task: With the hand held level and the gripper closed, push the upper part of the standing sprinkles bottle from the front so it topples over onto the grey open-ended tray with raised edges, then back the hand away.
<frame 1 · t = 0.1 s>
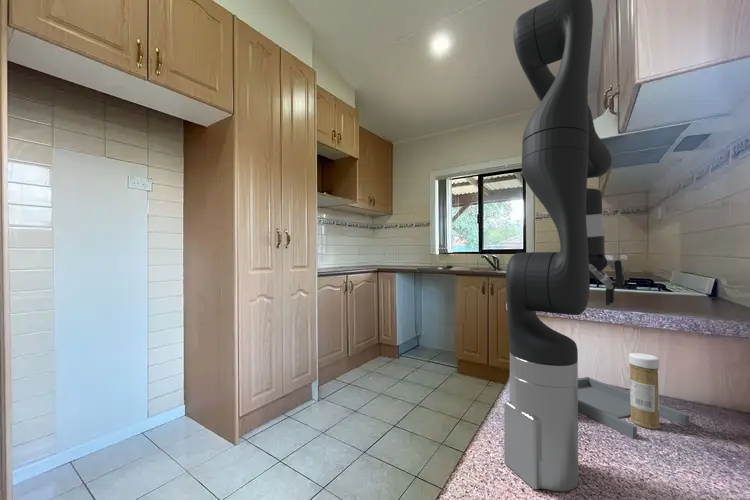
hand: (586, 302, 75), 22 cm above the countertop, tool pointing down, fingers open, 8 cm apart
grey open-ended tray: (606, 406, 69), on the countertop
sprinkles bottle: (644, 424, 62), on the countertop
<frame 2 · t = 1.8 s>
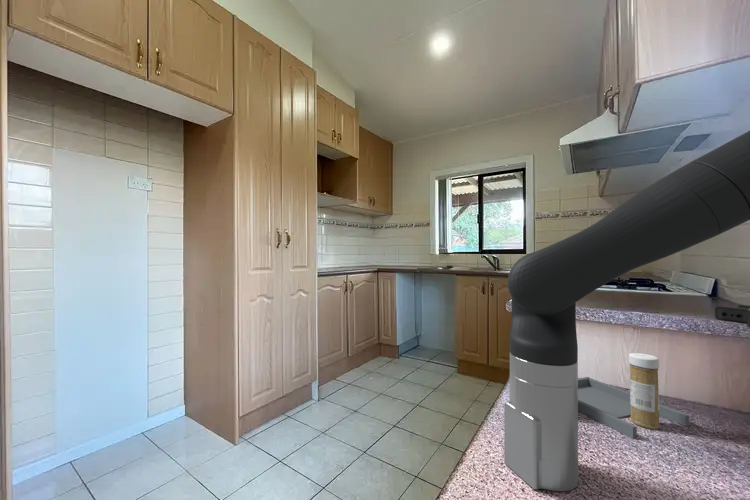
hand: (728, 312, 51), 24 cm above the countertop, tool horizontal, fingers open, 5 cm apart
nothing on the countertop moved.
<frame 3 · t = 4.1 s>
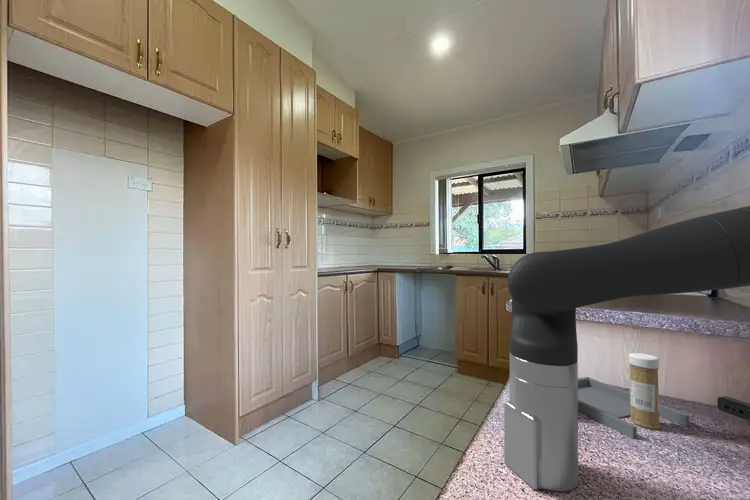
hand: (720, 402, 52), 9 cm above the countertop, tool horizontal, fingers closed
nothing on the countertop moved.
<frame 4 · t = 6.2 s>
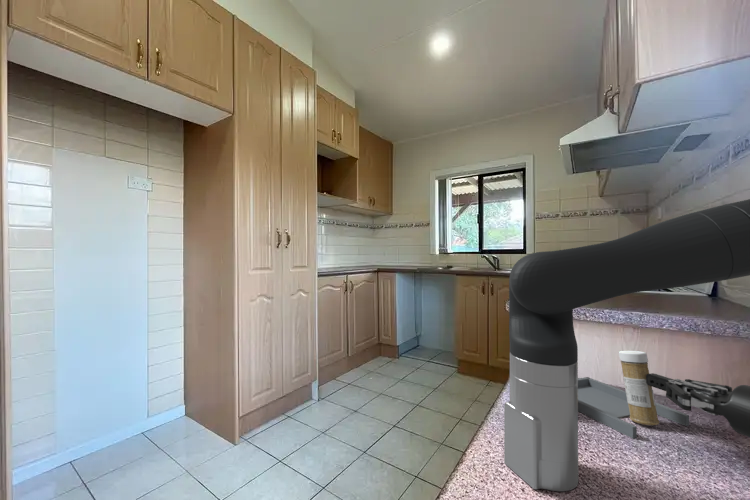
hand: (648, 378, 62), 9 cm above the countertop, tool horizontal, fingers closed
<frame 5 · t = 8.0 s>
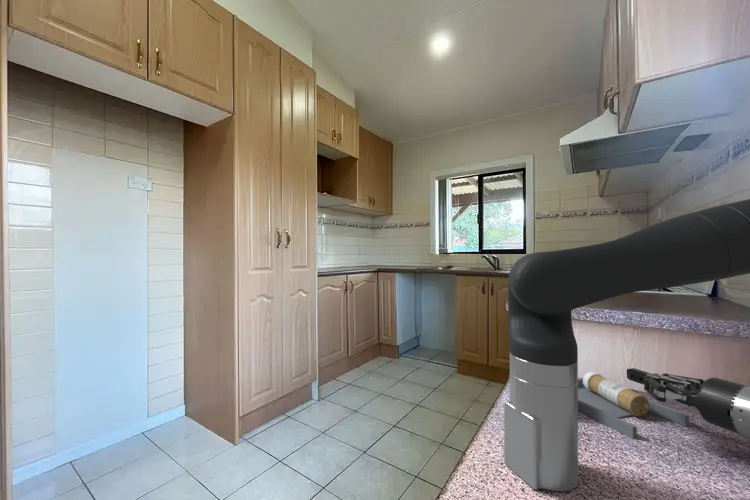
hand: (629, 373, 65), 9 cm above the countertop, tool horizontal, fingers closed
sprinkles bottle: (641, 406, 64), point 2 cm above the countertop, touching grey open-ended tray
everything else where it was.
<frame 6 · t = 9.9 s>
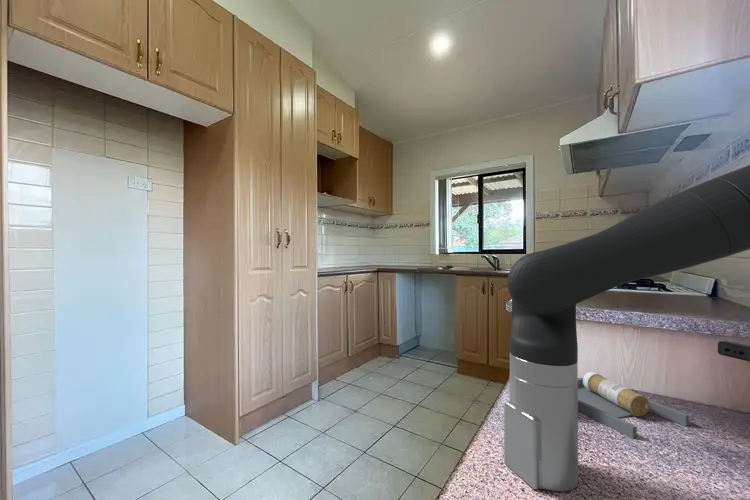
hand: (720, 347, 51), 18 cm above the countertop, tool horizontal, fingers closed
nothing on the countertop moved.
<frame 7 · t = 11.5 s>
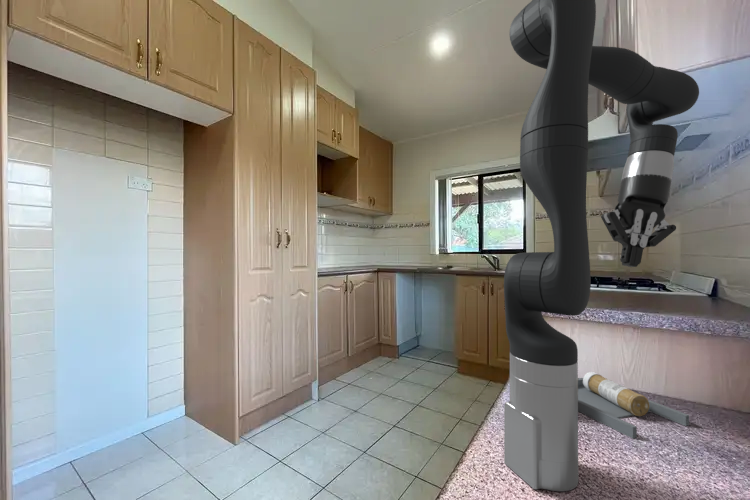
hand: (629, 266, 60), 31 cm above the countertop, tool pointing down, fingers closed
nothing on the countertop moved.
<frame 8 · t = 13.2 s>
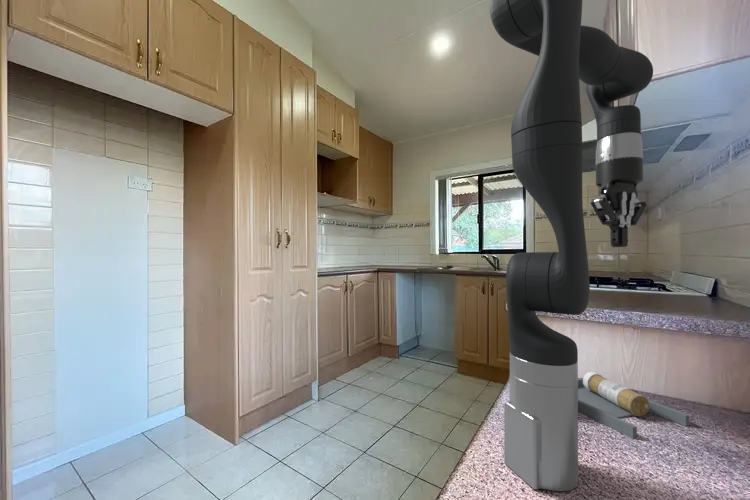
hand: (619, 247, 63), 35 cm above the countertop, tool pointing down, fingers closed
nothing on the countertop moved.
at the end: sprinkles bottle tilted 89°; sprinkles bottle touching grey open-ended tray; sprinkles bottle inside the target area (2.5 cm from its centre), point 2.4 cm above the countertop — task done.
